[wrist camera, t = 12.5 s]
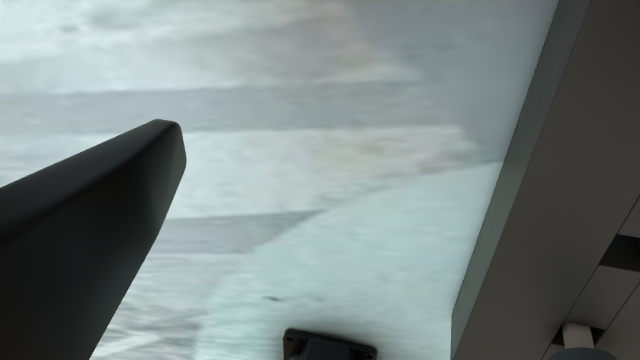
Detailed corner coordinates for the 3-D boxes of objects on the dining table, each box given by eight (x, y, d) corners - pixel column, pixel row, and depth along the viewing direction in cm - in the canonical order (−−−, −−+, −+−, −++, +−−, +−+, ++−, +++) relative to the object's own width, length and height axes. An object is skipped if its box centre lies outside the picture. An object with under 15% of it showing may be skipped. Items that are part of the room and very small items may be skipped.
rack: (945, -50, 14) (1050, -7, 12) (627, 349, 28) (643, 409, 26) (586, -79, 16) (609, -47, 13) (451, 314, 30) (449, 367, 27)
